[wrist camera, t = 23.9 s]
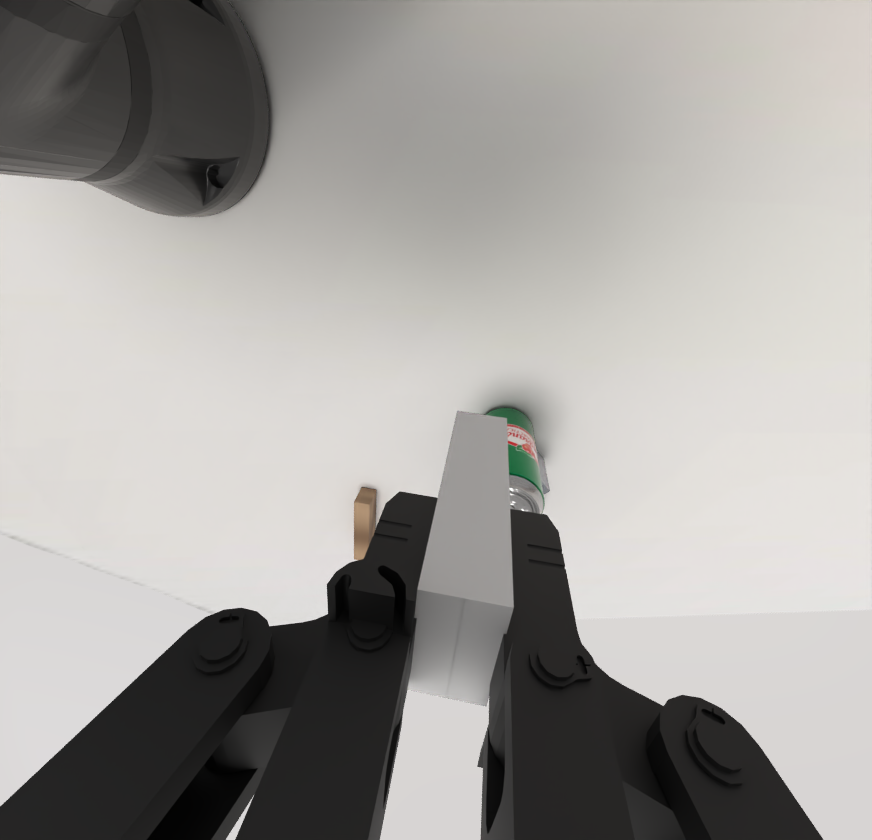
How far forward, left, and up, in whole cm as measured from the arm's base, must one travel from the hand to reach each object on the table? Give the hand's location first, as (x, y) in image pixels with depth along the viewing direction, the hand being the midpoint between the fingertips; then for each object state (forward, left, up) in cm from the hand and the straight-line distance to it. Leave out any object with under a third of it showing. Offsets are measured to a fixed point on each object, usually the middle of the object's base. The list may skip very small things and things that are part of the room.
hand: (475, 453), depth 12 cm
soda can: (+11, +3, -23) cm, 25 cm away
